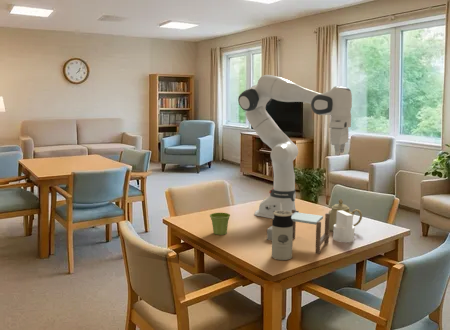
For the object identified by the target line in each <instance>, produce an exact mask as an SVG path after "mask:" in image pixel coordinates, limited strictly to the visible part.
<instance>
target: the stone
mask: <svg viewBox="0 0 450 330" xmlns="http://www.w3.org/2000/svg"><path fill="white" fill-rule="evenodd" d="M266 235H267V236H266V239H267V240H268V241H272V225H271V226H269V227H268V228H267V229H266Z"/></svg>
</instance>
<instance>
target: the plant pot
mask: <svg viewBox="0 0 450 330" xmlns="http://www.w3.org/2000/svg"><path fill="white" fill-rule="evenodd" d="M209 217H210V220H211V225H212V231H213V234H214V235H215V236H216V235H219V236H222V235H227V233H228V226H229V219H230V217H231V214H230V213H228V212H213V213H211V214H209Z"/></svg>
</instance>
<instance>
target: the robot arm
mask: <svg viewBox="0 0 450 330" xmlns="http://www.w3.org/2000/svg"><path fill="white" fill-rule="evenodd" d="M352 96H353V95H352V91H351V89H350V88H348V87H346V86H340V85H336V86H333V87H332V88H330V90H327V91H325V92H323V93H322V92H318V91H315V90H311V89H308V88H305V87H303V86H301V85H299V84H297V83H296V82H292V81H290V80H288V79H287V78H283V77H281V76H276V75H271V74H264V75H261V76H260V77H259V79H258V80H257V84H256V85H253V86H251V87H249V88H248V89H245V90H243V91H242V92H241V93H240V94H239V95H238V98H237V99H238V100H237V101H238V104H239V107H240V108H241V110H243V111H245V116H246V119H247V120H248V123H249V124H250V126H251V127H252V129H253V130H254V132H255V133H256V135H257V136H258V137H259V138H260V140H261V141H262V142H263V143H264V144H266V146H268V147H269V148H270V149H271V151H270V160H271V164H272V170H273V187H272V188H271V189H270V190H269V193H268V194H269V196H267V197H266V198H265V199H263V200H262V201H261V202H260V203H259V207H258V209H257V210H255V212H254V216H258V217H262V218H268V219H272V220H273V218H274V214H273V212H275V211H280V210H283V211H290V212H292V209H295V210H296V211H297V209H296V202H295V201H296V197H297V196H296V193H297V192H296V188H295V187H296V186H295V185H296V184H295V183H296V174H295V171H294V170H295V169H294V160H296V158H297V157H298V154H299V148H298V145H297V144H296V143H294V142H293V140H292V139H291V138H289V136H288V135H287V134H286V133H284V131H283V130H282V129H281V128H280V127H279V126H278V124H277V123H276V122H275V120H274V119H273V118H272V116H271V115H270V114H269V113H268V111H267V110H266V109H267V106H268V107H269V106H270V104H271V102H272V100H275V101H277V102H284V103H295V102H296V103H297V102H298V103H300V102H301V103H306V104H309V105H310V107H311V110H312V112H313V113H314V114H316V115H319V116H330V122H329V124H328V126H329V128H330V132H329V133H330V144H331V146H333V148H334V155H335V156H339V155H340V154H341V153H343V154H344V153H345V149H346V143H348V142H349V128H351V126H352V113H351V111H352V106H353V97H352Z"/></svg>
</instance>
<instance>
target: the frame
mask: <svg viewBox="0 0 450 330" xmlns="http://www.w3.org/2000/svg"><path fill="white" fill-rule="evenodd" d="M295 212H298V213H300V212H299V210H297V209H296V210H295V209H292V213H295ZM329 219H330V214H329V212H326V213H325V214H324V233H323V234H321V233H322V222H321V221H317V222H316V225H315V252H314V253H315V254H317V255H320V254H321V246H322V245H323V243H324V244H329V242H330V230H329ZM296 223H297V222H295V221H293V240H294V239H296V226H297V225H296Z"/></svg>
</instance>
